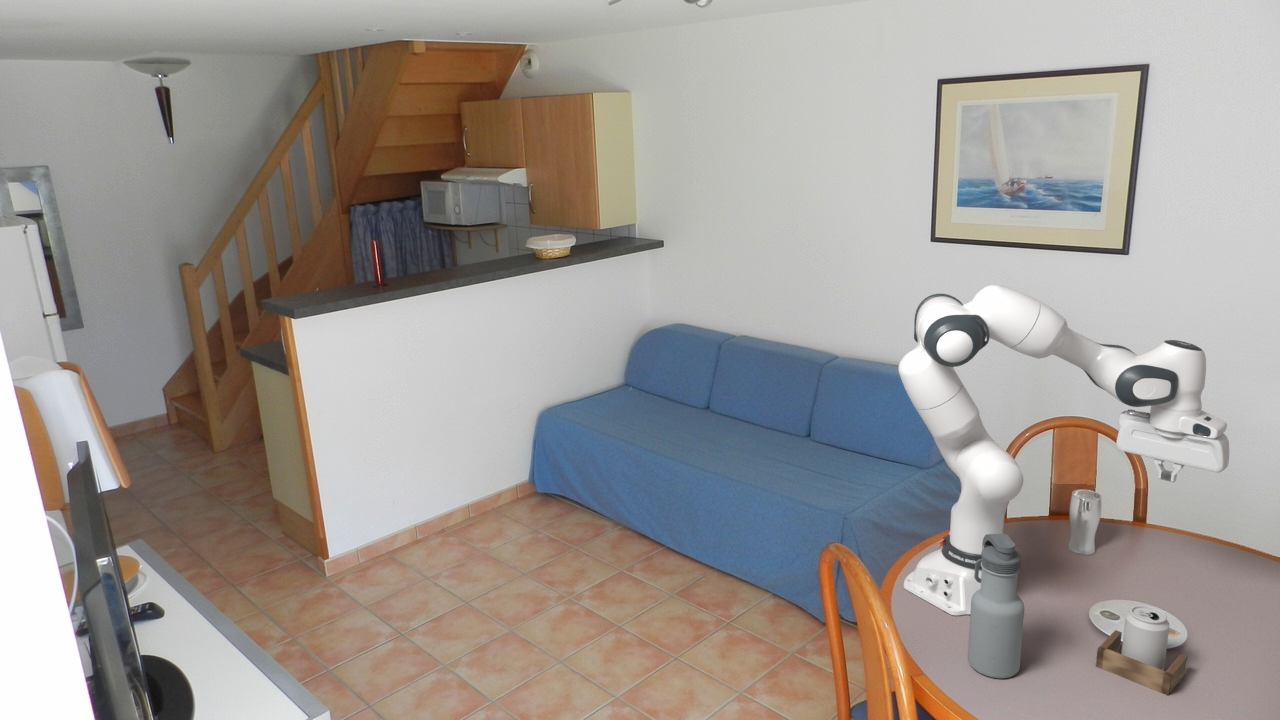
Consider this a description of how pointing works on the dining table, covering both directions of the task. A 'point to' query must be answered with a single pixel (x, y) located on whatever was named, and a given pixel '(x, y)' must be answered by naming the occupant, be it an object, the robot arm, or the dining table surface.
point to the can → (1146, 635)
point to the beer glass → (1084, 520)
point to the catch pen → (1139, 667)
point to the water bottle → (996, 610)
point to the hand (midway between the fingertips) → (1166, 480)
